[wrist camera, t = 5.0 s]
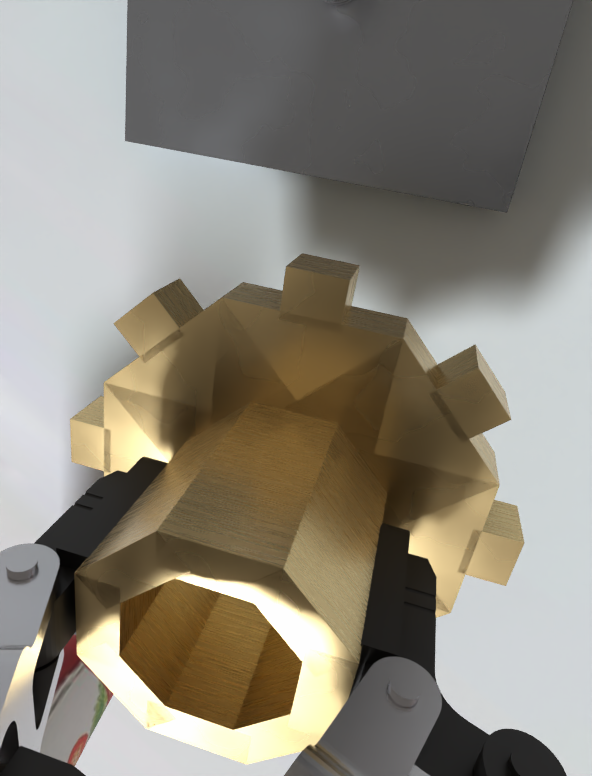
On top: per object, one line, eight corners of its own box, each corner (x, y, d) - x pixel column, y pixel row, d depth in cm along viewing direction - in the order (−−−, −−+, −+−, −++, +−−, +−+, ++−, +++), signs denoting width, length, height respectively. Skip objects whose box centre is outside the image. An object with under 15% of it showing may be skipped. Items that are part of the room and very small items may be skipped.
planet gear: (595, 314, 12) (728, 472, 6) (448, 675, 18) (448, 938, 12) (99, 210, 14) (-140, 263, 8) (101, 566, 19) (-45, 748, 14)
